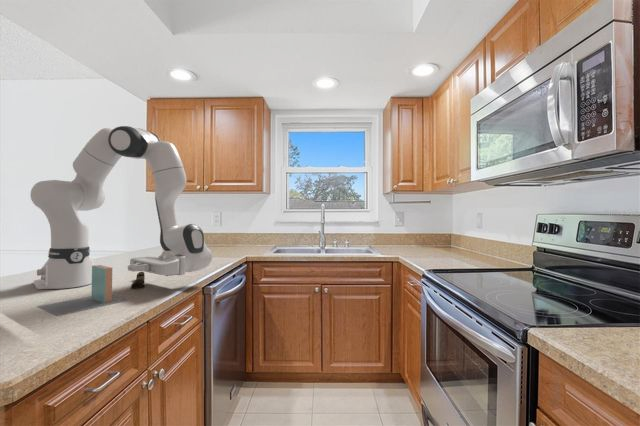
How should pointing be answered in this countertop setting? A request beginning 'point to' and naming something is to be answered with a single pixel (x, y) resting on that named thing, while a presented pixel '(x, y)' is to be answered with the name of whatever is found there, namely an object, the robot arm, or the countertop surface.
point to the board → (78, 305)
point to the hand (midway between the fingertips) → (130, 268)
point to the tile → (101, 283)
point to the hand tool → (139, 281)
